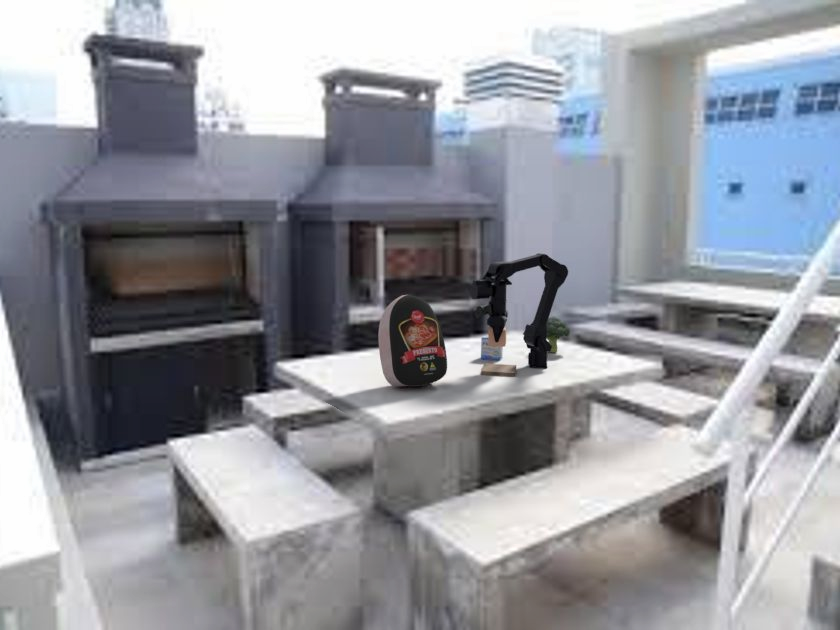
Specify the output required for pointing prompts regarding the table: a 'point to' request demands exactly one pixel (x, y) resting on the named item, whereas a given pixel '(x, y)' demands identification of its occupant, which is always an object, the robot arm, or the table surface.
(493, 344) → the terracotta cube
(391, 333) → the packaged food
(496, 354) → the medicine box
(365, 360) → the table surface
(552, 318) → the vegetable
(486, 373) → the walnut board
